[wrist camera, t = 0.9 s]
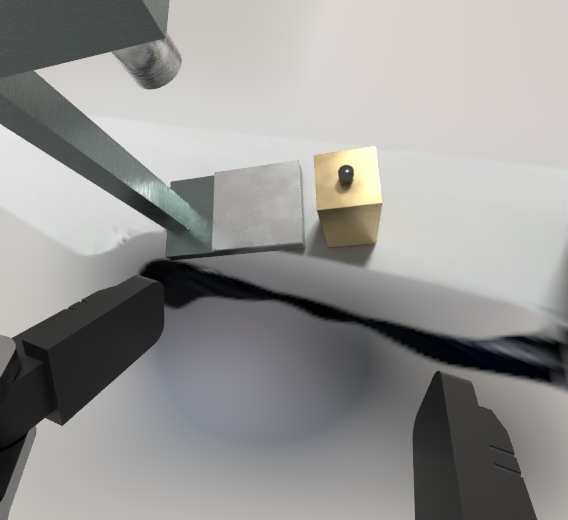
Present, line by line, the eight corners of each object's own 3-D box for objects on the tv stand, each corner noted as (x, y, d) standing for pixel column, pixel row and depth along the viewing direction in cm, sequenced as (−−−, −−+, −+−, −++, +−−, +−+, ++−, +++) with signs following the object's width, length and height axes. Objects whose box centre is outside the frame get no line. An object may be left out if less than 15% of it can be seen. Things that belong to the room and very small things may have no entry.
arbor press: (300, 141, 40) (185, -261, 14) (305, 247, 36) (161, -25, 10) (179, 161, 43) (-103, -136, 17) (172, 260, 40) (-200, 78, 13)
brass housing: (371, 199, 36) (375, 138, 26) (376, 243, 35) (382, 197, 25) (325, 205, 37) (312, 148, 27) (328, 247, 36) (315, 205, 26)
